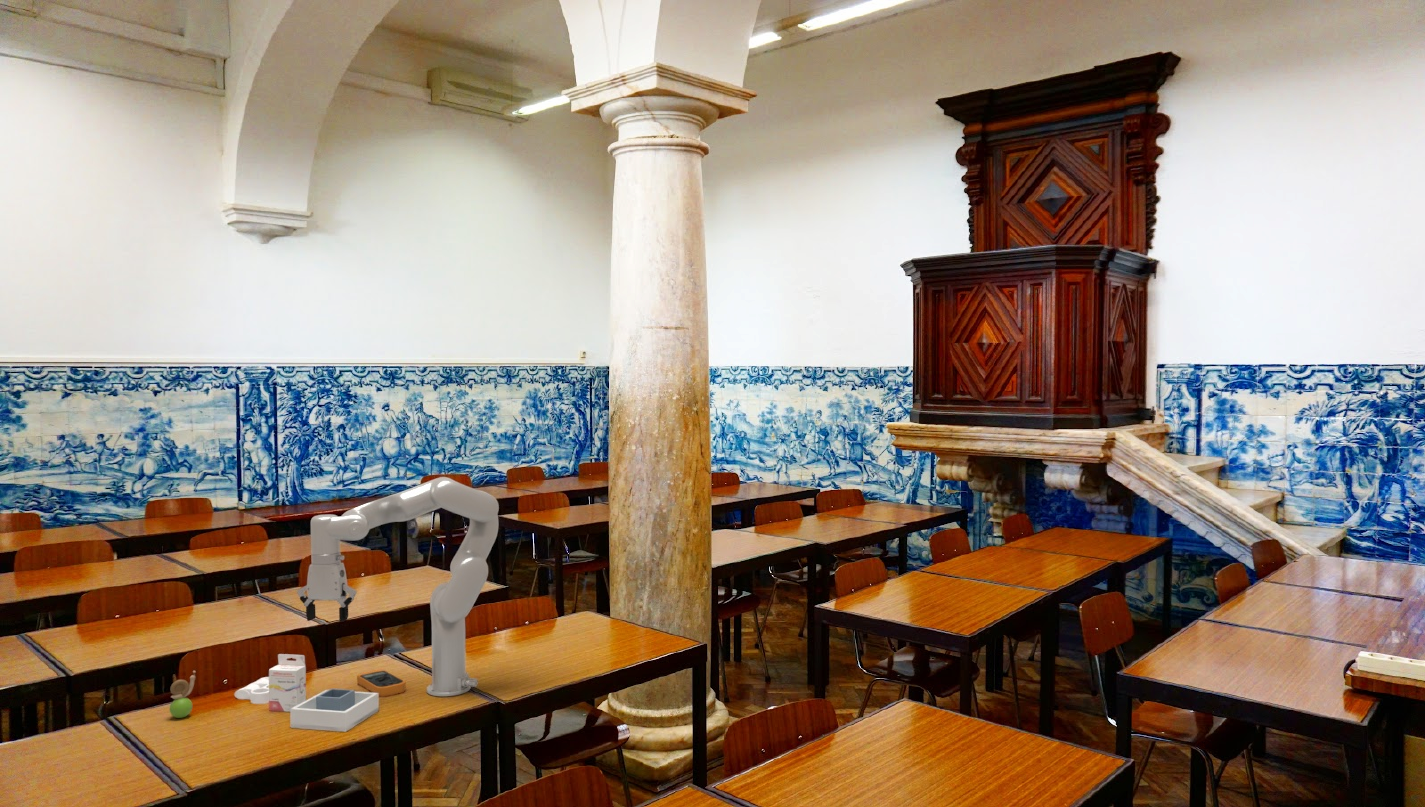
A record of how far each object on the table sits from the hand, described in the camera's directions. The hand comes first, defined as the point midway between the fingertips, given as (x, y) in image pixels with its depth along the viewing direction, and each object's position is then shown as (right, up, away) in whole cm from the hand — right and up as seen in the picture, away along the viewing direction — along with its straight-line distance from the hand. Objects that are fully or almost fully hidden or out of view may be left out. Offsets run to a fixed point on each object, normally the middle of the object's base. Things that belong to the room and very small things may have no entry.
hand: (327, 620), depth 264 cm
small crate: (+6, -24, -9) cm, 26 cm away
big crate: (+6, -25, -9) cm, 27 cm away
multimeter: (+9, -25, +17) cm, 31 cm away
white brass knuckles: (-22, -25, +12) cm, 35 cm away
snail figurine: (-36, -25, -7) cm, 45 cm away
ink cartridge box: (-11, -25, -1) cm, 27 cm away
